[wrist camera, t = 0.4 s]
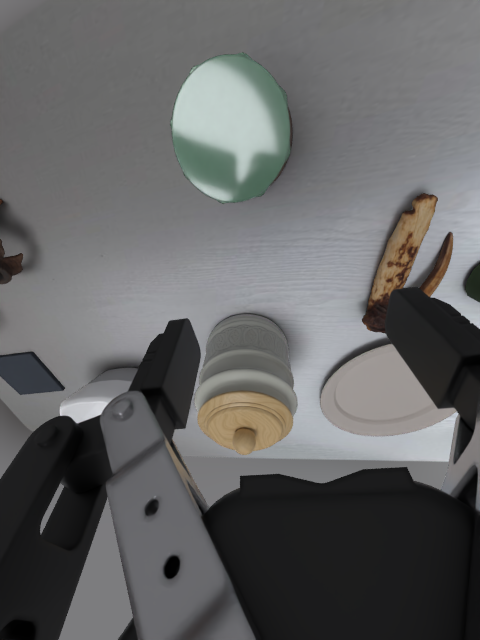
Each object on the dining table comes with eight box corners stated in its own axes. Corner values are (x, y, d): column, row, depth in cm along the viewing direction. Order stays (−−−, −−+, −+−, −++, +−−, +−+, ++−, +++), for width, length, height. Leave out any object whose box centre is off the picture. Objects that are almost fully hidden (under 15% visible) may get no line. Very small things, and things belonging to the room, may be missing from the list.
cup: (190, 99, 20) (152, 73, 12) (272, 78, 19) (285, 35, 11) (211, 190, 23) (191, 211, 16) (280, 175, 22) (294, 191, 15)
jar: (204, 310, 38) (174, 414, 23) (291, 312, 37) (315, 419, 23) (210, 370, 45) (190, 477, 31) (283, 373, 45) (297, 482, 30)
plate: (315, 344, 40) (318, 352, 39) (495, 321, 36) (506, 330, 35) (319, 431, 55) (321, 440, 53) (449, 422, 51) (455, 431, 49)
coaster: (-15, 357, 46) (-18, 359, 45) (32, 351, 44) (30, 353, 44) (22, 392, 51) (20, 394, 51) (65, 388, 50) (63, 390, 49)
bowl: (189, 416, 54) (178, 462, 46) (108, 414, 54) (84, 458, 47) (176, 356, 43) (159, 401, 36) (76, 353, 44) (39, 398, 36)
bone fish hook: (409, 322, 38) (476, 189, 27) (427, 343, 34) (514, 198, 23) (347, 322, 38) (389, 190, 27) (359, 343, 34) (413, 199, 23)
